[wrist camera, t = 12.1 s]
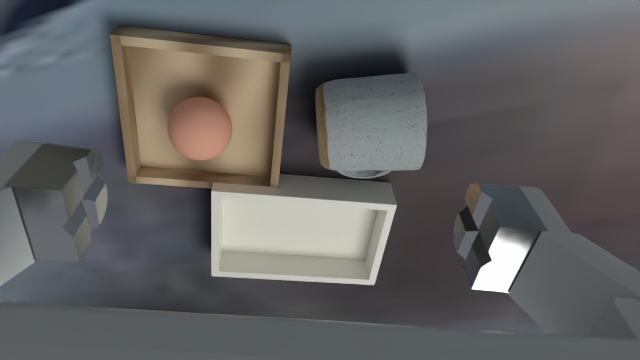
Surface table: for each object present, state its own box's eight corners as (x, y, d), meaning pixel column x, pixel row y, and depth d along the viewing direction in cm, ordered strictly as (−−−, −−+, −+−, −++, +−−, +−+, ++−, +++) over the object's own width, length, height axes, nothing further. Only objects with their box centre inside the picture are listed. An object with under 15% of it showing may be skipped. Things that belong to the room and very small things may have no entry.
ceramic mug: (310, 67, 38) (314, 111, 32) (411, 57, 38) (434, 99, 31) (321, 173, 44) (326, 227, 38) (407, 164, 44) (426, 218, 38)
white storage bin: (390, 182, 45) (396, 205, 42) (369, 260, 51) (374, 285, 48) (216, 168, 43) (211, 191, 40) (216, 251, 49) (211, 276, 46)
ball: (237, 90, 38) (227, 119, 34) (236, 143, 41) (226, 175, 37) (175, 83, 37) (157, 111, 33) (178, 136, 40) (161, 168, 36)
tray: (291, 44, 37) (291, 54, 35) (278, 179, 44) (277, 193, 42) (119, 25, 35) (109, 34, 33) (135, 168, 42) (128, 182, 41)
